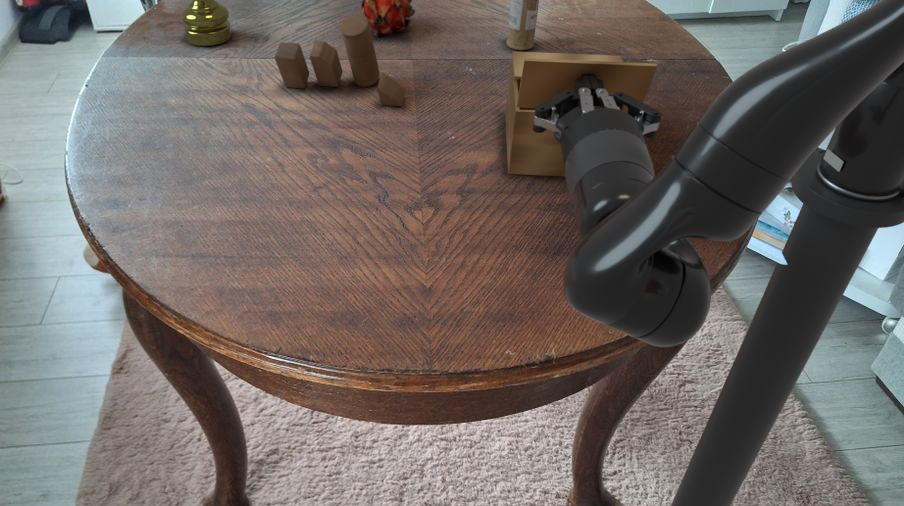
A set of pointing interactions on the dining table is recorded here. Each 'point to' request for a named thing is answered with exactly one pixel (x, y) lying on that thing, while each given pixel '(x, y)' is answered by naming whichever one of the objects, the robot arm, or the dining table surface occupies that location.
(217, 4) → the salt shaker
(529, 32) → the sprinkles bottle
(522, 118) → the carton
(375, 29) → the dragon fruit
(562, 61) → the flap
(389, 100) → the wooden block set
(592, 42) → the dining table surface
